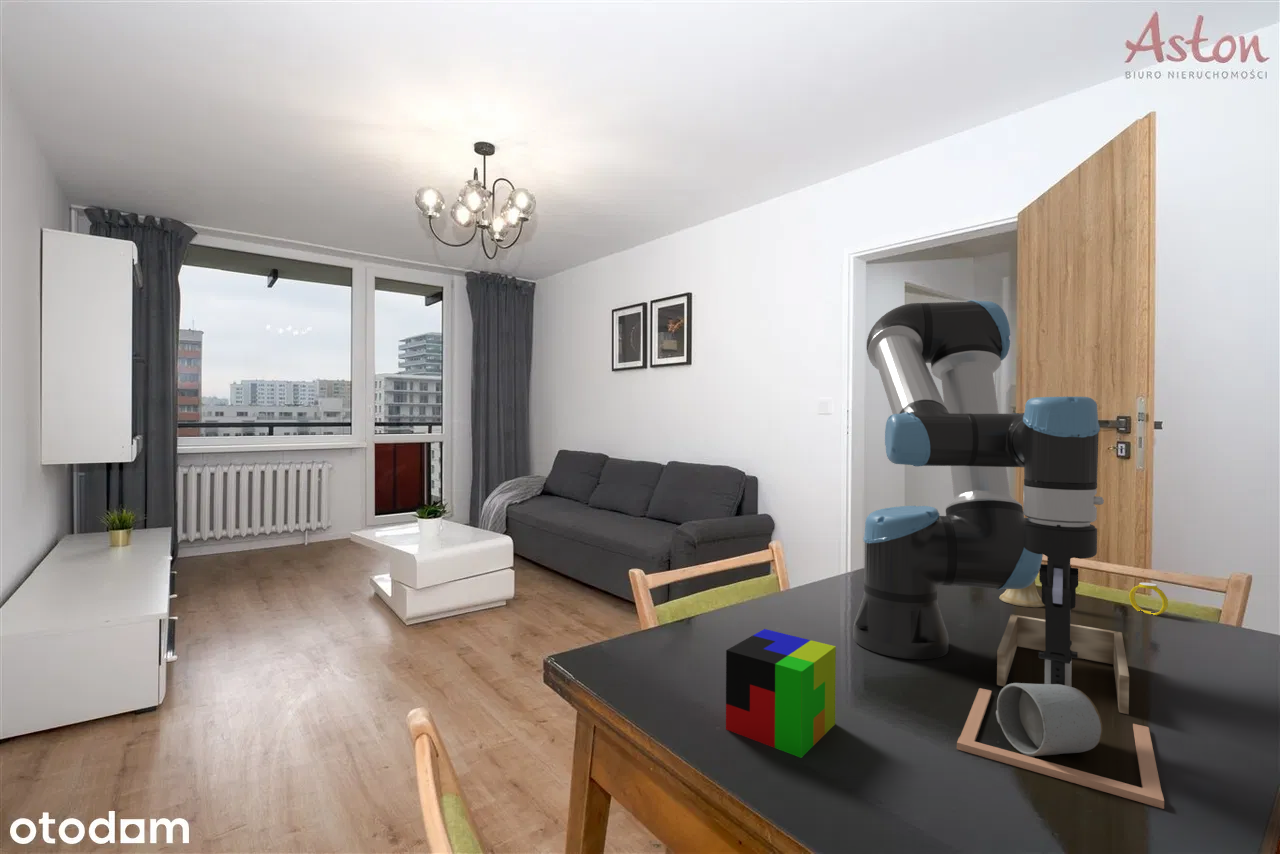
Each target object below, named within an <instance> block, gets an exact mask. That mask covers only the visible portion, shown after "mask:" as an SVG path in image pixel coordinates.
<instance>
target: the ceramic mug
mask: <svg viewBox="0 0 1280 854" xmlns="http://www.w3.org/2000/svg"><path fill="white" fill-rule="evenodd" d="M995 716H996V721H997V723H998V725H1000V728H1001V730H1002V733H1003V734H1004V736H1005V738H1006V740H1007V741H1008V743H1009V744H1010V745H1012V747H1013V748H1014V749H1015V750H1016V751H1018V752H1019V753H1020V754H1022V755H1026V756H1029V757H1040V756H1041V757H1042V756H1052V755H1053V756H1055V755H1060V754H1061V755H1063V754H1077V753H1079V754H1080V753H1085V752H1088V751H1091V750H1092V749H1095V748H1096V747H1097V746H1098V745H1099V743H1100V742H1101V740H1102V736H1103V724H1102V719H1101V715H1100V713H1099V711H1098V708H1097V706H1096V705H1095V703H1094V702H1093V701H1092V699H1091V698H1090V697H1089V696H1088V695H1086V693H1084V692H1083V691H1082V690H1080V689H1078V688H1075V687H1072V686H1071V687H1070V686H1065V685H1060V684H1045V683H1025V682H1022V683H1021V682H1013V683H1012V682H1011V683H1009V684H1005V687H1004V686H1003V688H1001V689H1000V691H999V694H998V697H997V701H996V710H995Z"/></svg>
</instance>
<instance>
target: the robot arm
mask: <svg viewBox="0 0 1280 854" xmlns="http://www.w3.org/2000/svg"><path fill="white" fill-rule="evenodd" d="M867 335H868V336H867V340H866V353H867V355H868V356H867V357H868V359H869V361H870V363H871V364H872V366H873V367H874V368H875V369H876V370H878V372H879V376H880V378H881V382H882V385H883V388H884V391H885V394H886V397H887V401H888V404H889V407H890V410H891V412H892V414H890V415H889V416H888V418H887V419H886V422H885V429H884V446H885V453H886V457H887V459H888V460H889V461H890V463H892V464H894V465H905V466H907V465H908V466H912V467H913V466H914V467H924V466H925V467H930V466H931V467H932V466H933V467H943V466H944V467H950V471H951V482H952V492H953V500H952V501H951V502H950V503H948V504H947V505H946V507H945V515H940V513H939V511H938V508H936V507H935V506H928V505H918V506H917V505H902V506H901V505H900V506H893V507H892V506H891V507H885V508H881V509H877V510H874V511H872V512H871V513H869V514H868V515H867V517H866V518H865V523H864V533H863V534H864V535H863V538H862V540H863V542H864V567H863V568H864V570H863V571H864V574H863V575H864V577H863V580H864V582H863V585H864V586H863V596H862V599H861V602H860V605H859V607H858V608H859V609H858V611H857V614H856V617H855V619H854V622H853V627H852V638H853V640H854V642H855V643H856V644H857V645H859V646H860V647H862V648H864V649H867V650H868V651H871V652H874V653H876V654H880V655H883V656H888V657H893V658H899V659H906V660H907V659H908V660H931V659H936V658H941V657H943V656H945V655H947V654H948V652H949V650H950V649H949V644H950V643H949V642H950V641H949V639H950V638H949V633H948V630H947V627H946V625H945V622H944V619H943V615H942V613H941V612H942V611H941V609H940V607H939V604H938V589H939V586H949V587H967V588H982V589H983V588H984V589H996V590H999V591H1002V590H1005V589H1006V590H1007V589H1023V588H1026V587H1028V586H1030V585H1031V584H1032V583H1033V582H1034V580H1035V581H1036V579H1037V577H1039V578H1038V579H1039V583H1040V584H1041V599H1042V603H1043V604H1044V605H1045V606H1044V610H1045V611H1044V612H1045V613H1044V615H1045V616H1044V617H1045V618H1044V620H1045V651H1038V658H1039V659H1041V660H1042V659H1043V660H1044V684H1060V685H1065V686H1070V687H1072V662H1073V660H1072V658H1073V659H1078V658H1077V657H1078V652H1074V651H1072V650H1070V647H1071V645H1072V641H1071V640H1070V627H1071V624H1072V623H1071V617H1072V616H1071V615H1072V614H1071V613H1072V611H1071V610H1073V609H1074V608H1076V606H1077V605H1076V601H1077V600H1076V594H1077V593H1076V592H1077V591H1076V590H1077V589H1076V588H1078V586H1079V567H1078V568H1077V567H1072V566H1071V559H1073V558H1074V559H1090V558H1093V557H1095V556H1096V555H1097V553H1098V528H1097V527H1096V526H1095V525H1093V524H1092V523H1094V522H1095V521H1097V517H1098V512H1097V511H1098V508H1097V507H1096V505H1097V506H1098V505H1103V504H1104V497H1103V496H1096V495H1097V493H1098V491H1097V489H1098V472H1099V471H1098V470H1099V469H1098V466H1099V463H1098V461H1099V434H1100V433H1099V432H1100V430H1101V427H1100V423H1099V414H1098V413H1099V412H1098V404H1097V401H1095V400H1094V399H1093V398H1091V397H1089V396H1042V397H1041V396H1038V397H1031V398H1029V399H1028V400H1027V401H1026V402H1025V405H1024V412H1022V413H1020V412H1012V413H999V407H998V400H997V393H996V386H995V380H994V379H995V378H994V373H995V372H996V371H997V370H998V369H1000V366H1001V364H1002V361H1003V360H1004V359H1005V358H1006V357H1007V355H1008V354H1009V350H1010V346H1011V340H1010V336H1011V329H1010V323H1009V320H1008V316H1007V314H1006V312H1005V311H1004V309H1003V308H1002V306H1000V304H998V303H996V302H993V301H990V300H988V301H987V300H979V301H978V300H976V299H969V300H967V301H948V302H947V301H943V302H911V303H908V304H907V303H906V304H902V305H900V306H898V307H897V306H896V307H895V308H893V309H891V310H890V311H887V312H886V313H885V314H884V315H882V316H881V317H880V318H879V319H878V320H877V321H876V322H875V324H874V325H873V326H871V330H870V331H869V333H868V334H867ZM927 364H930V369H931V372H930V370H929V367H928V365H927ZM931 373H932V375H933V376H934V377H935V378H937V379H939V380H941V388H942V395H941V394H940V391H939V389H938V387H937V385H936V383H935V380H934V379H933V376H932V375H931ZM1007 468H1024V471H1023V472H1024V473H1023V474H1024V475H1023V477H1024V479H1023V488H1022V489H1023V493H1022V495H1023V496H1022V497H1023V499H1022V500H1023V503H1020V502H1019V501H1017V500H1016V499H1014V498H1013V497H1012V495H1011V491H1010V490H1011V489H1010V485H1009V478H1008V471H1007ZM1043 556H1045V557H1047V560H1046V562H1047V563H1046V564H1043V563H1042V562H1043ZM1038 575H1039V576H1038Z"/></svg>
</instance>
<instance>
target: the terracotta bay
mask: <svg viewBox="0 0 1280 854" xmlns="http://www.w3.org/2000/svg"><path fill="white" fill-rule="evenodd" d="M992 692H993V691H992V690H990V689H985V688H981V687H980V688H978V691H977V693H976V696H975V697H974V701H973V704H972V705H971V709H970V711H969V713H968V716H967V719H966V721H965V723H964V726H963V728H962V731H961V734H960V736H959V737H958V738H957V741H956V750H959V751H962V752H966V753H969V754H972V755H976V756H979V757H983V758H985V759H989V760H992V761H997V762H1000V763H1004V764H1006V765H1010V766H1013V767H1017V768H1021V769H1024V770H1027V771H1032V772H1034V773H1038V774H1041V775H1045V776H1048V777H1052V778H1056V779H1060V780H1062V781H1065V782H1069V783H1072V784H1077V785H1080V786H1083V787H1087V788H1091V789H1093V790H1096V791H1100V792H1104V793H1108V794H1109V795H1110V794H1111V795H1114V796H1117V797H1122V798H1124V799H1127V800H1132V801H1136V802H1139V803H1143V804H1145V805H1148V806H1152V807H1155V808H1160V809H1161V810H1162V809H1163V810H1164V809H1165V799H1164V794H1163V792H1162V788H1161V783H1160V777H1159V773H1158V768H1157V767H1158V766H1157V763H1156V756H1155V752H1154V749H1153V747H1154V746H1153V743H1152V738H1151V732H1150V727H1149V726H1144V725H1140V724H1137V723H1132V729H1133V736H1134V737H1133V738H1134V742H1135V743H1134V744H1135V750H1136V755H1137V762H1138V763H1137V764H1138V769H1139V775H1140V782H1141V784H1140V785H1141V787H1140V786H1137V785H1133V784H1129V783H1125V782H1122V781H1119V780H1115V779H1112V778H1108V777H1104V776H1100V775H1097V774H1093V773H1090V772H1086V771H1083V770H1079V769H1076V768H1073V767H1068V766H1066V765H1065V766H1064V765H1061V764H1058V763H1054V762H1050V761H1047V760H1043V759H1039V758H1035V757H1034V756H1028V755H1024V754H1022V753H1018V752H1014V751H1012V750H1011V751H1010V750H1007V749H1003V748H1000V747H997V746H994V745H993V746H992V745H989V744H985V743H981V742H978V741H976V740H977V737H978V735H979V731H980V729H981V726H982V723H983V720H984V716H985V714H986V711H987V708H988V706H989V703H990V699H991V698H992Z"/></svg>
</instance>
